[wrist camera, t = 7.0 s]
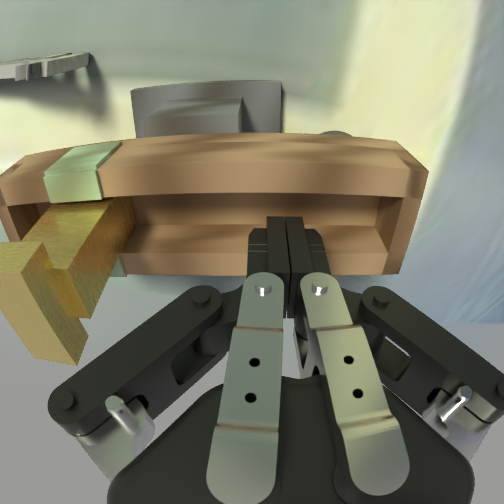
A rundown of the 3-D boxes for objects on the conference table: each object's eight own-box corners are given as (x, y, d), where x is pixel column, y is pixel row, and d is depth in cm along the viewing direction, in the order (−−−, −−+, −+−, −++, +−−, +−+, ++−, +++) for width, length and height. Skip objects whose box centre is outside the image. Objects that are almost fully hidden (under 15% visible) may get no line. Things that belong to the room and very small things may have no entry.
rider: (123, 158, 15) (33, 273, 8) (140, 239, 18) (89, 368, 11) (65, 165, 15) (-32, 269, 8) (87, 240, 18) (25, 355, 11)
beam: (366, 87, 19) (440, 130, 11) (350, 210, 25) (389, 302, 17) (64, 102, 19) (-25, 154, 11) (89, 212, 25) (34, 295, 17)
